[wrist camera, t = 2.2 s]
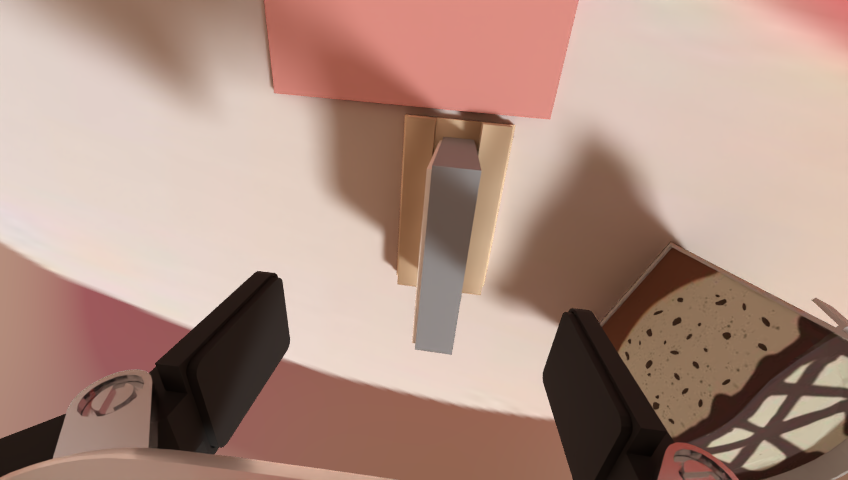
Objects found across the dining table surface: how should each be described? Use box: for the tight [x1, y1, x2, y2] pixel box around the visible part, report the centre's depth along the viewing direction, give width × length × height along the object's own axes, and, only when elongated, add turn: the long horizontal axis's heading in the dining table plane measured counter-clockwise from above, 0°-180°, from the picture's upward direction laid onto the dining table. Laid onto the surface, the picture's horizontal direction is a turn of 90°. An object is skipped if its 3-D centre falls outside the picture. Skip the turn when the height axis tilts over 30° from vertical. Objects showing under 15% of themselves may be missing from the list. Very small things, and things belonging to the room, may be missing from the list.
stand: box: [396, 114, 515, 295], centre depth 20 cm, size 6×11×2 cm, turn 175°
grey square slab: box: [412, 137, 481, 355], centre depth 17 cm, size 2×9×8 cm, turn 175°
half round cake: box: [600, 242, 848, 480], centre depth 18 cm, size 12×6×10 cm, turn 158°
